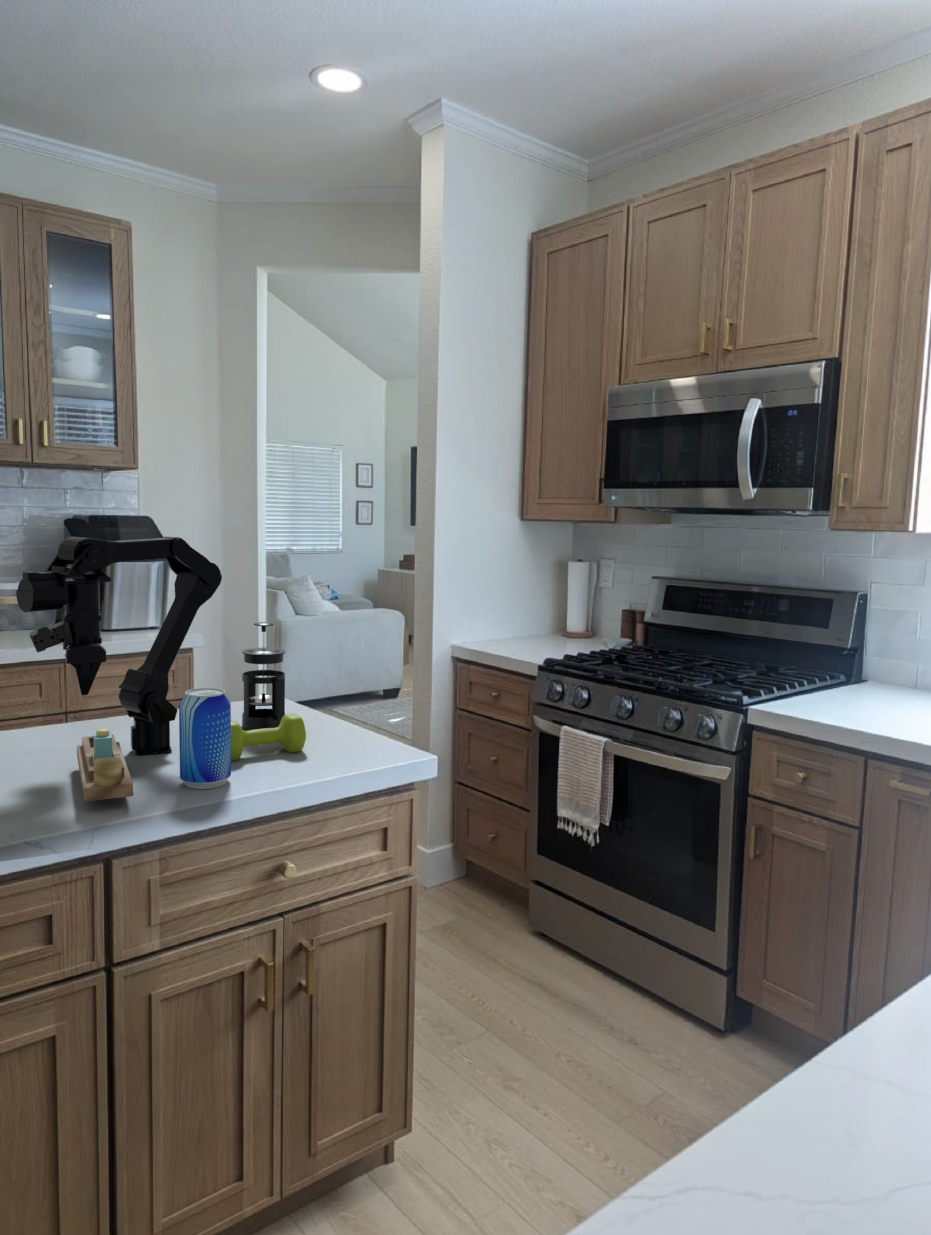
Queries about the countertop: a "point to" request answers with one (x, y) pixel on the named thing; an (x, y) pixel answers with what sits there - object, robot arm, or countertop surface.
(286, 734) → the dumbbell
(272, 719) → the french press
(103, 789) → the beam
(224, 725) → the beer can
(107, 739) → the block
